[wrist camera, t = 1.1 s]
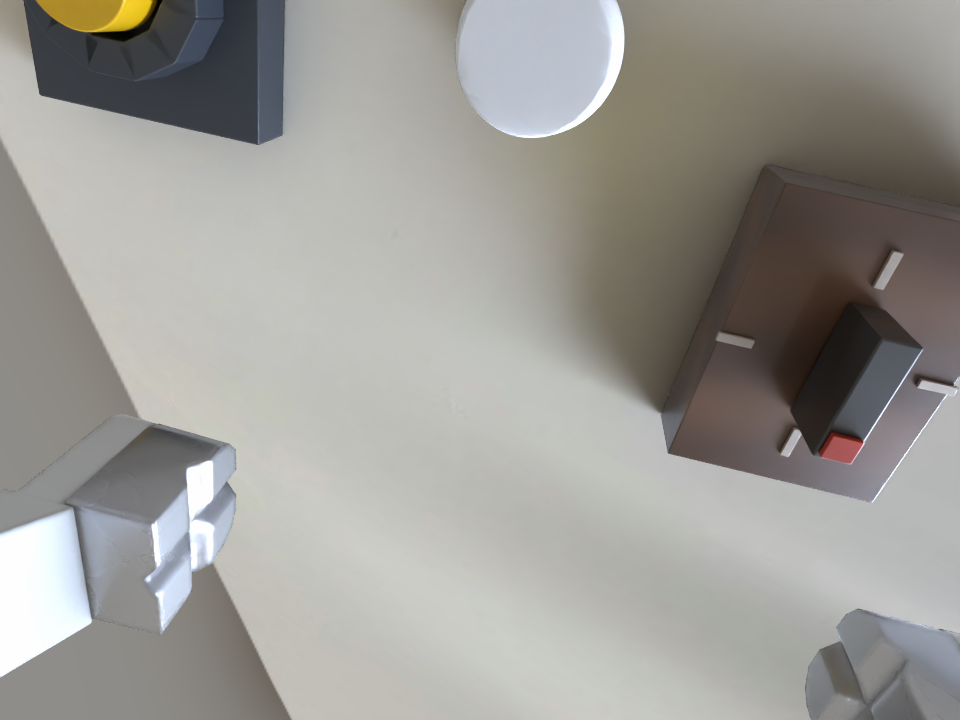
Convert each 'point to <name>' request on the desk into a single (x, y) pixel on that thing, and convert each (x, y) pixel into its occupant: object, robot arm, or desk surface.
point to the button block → (173, 66)
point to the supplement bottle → (538, 61)
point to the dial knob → (853, 382)
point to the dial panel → (817, 327)
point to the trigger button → (99, 13)
